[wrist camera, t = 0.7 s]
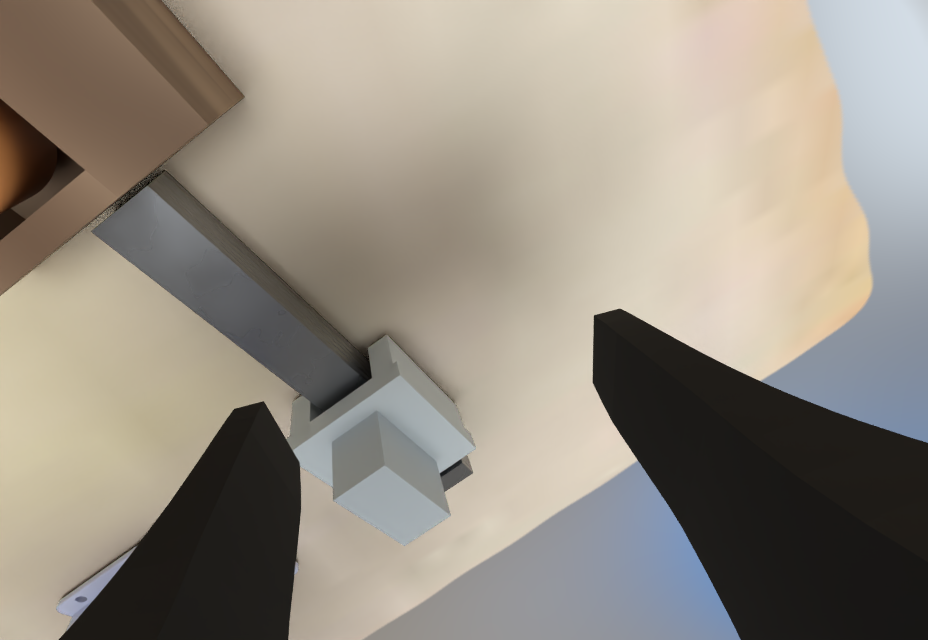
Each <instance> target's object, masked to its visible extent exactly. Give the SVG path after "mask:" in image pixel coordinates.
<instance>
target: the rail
mask: <svg viewBox="0 0 928 640" xmlns="http://www.w3.org/2000/svg"><path fill="white" fill-rule="evenodd" d="M91 232H92V233H93V234H95V235H96V236H97V237H99V238H100V239H101V240H102V241H104V242H105V243H106V244H108V245H109V246H110V247H111V248H113V249H114V250H115V251H117V252H118V253H119V254H120V255H122V256H123V257H124V258H126V259H127V260H128V261H129V262H131V263H132V264H133V265H135V266H136V267H137V268H138V269H140V270H141V271H142V272H144V273H145V274H146V275H148V276H149V277H150V278H151V279H153V280H154V281H155V282H157V283H158V284H159V285H160V286H162V287H163V288H164V289H166V290H167V291H168V292H169V293H171V294H172V295H173V296H175V297H176V298H177V299H178V300H180V301H181V302H182V303H184V304H185V305H186V306H187V307H189V308H190V309H191V310H193V311H194V312H195V313H197V314H198V315H199V316H200V317H202V318H203V319H204V320H206V321H207V322H208V323H209V324H211V325H212V326H213V327H215V328H216V329H217V330H218V331H220V332H221V333H222V334H224V335H225V336H226V337H227V338H229V339H230V340H231V341H233V342H234V343H235V344H236V345H238V346H239V347H240V348H242V349H243V350H244V351H246V352H247V353H248V354H249V355H251V356H252V357H253V358H255V359H256V360H257V361H258V362H260V363H261V364H262V365H264V366H265V367H266V368H267V369H269V370H270V371H271V372H273V373H274V374H275V375H276V376H278V377H279V378H280V379H282V380H283V381H284V382H285V383H287V384H288V385H289V386H291V387H292V388H293V389H294V390H296V391H297V392H298V393H300V394H301V395H302V396H304V397H305V398H306V399H307V400H309V401H310V402H311V403H313V404H314V405H315V406H316V407H318V408H319V409H320V410H322V411H323V412H325V411H326V410H328V409H329V408H331V407H332V406H333V405H335V404H336V403H338V402H339V401H340V400H342V399H343V398H345V397H346V396H347V395H349V394H350V393H352V392H353V391H355V390H356V389H357V388H359V387H360V386H362V385H363V384H364V383H366V382H367V381H369V380H370V379H371V378H372V373H371V367H370V362H369V361H368V360H367V359H366V358H365V357H364V356H363V355H362V354H361V353H360V352H359V351H358V350H357V349H356V348H355V347H353V346H352V345H351V344H350V343H349V342H348V341H347V340H346V339H345V338H344V337H343V336H342V335H341V334H340V333H338V332H337V331H336V330H335V329H334V328H333V327H332V326H331V325H330V324H329V323H328V322H327V321H326V320H325V319H324V318H322V317H321V316H320V315H319V314H318V313H317V312H316V311H315V310H314V309H313V308H312V307H311V306H310V305H309V304H307V303H306V302H305V301H304V300H303V299H302V298H301V297H300V296H299V295H298V294H297V293H296V292H295V291H294V290H293V289H291V288H290V287H289V286H288V285H287V284H286V283H285V282H284V281H283V280H282V279H281V278H280V277H279V276H278V275H276V274H275V273H274V272H273V271H272V270H271V269H270V268H269V267H268V266H267V265H266V264H265V263H264V262H263V261H262V260H260V259H259V258H258V257H257V256H256V255H255V254H254V253H253V252H252V251H251V250H250V249H249V248H248V247H247V246H245V245H244V244H243V243H242V242H241V241H240V240H239V239H238V238H237V237H236V236H235V235H234V234H233V233H232V232H231V231H229V230H228V229H227V228H226V227H225V226H224V225H223V224H222V223H221V222H220V221H219V220H218V219H217V218H216V217H214V216H213V215H212V214H211V213H210V212H209V211H208V210H207V209H206V208H205V207H204V206H203V205H202V204H201V203H200V202H198V201H197V200H196V199H195V198H194V197H193V196H192V195H191V194H190V193H189V192H188V191H187V190H186V189H185V188H183V187H182V186H181V185H180V184H179V183H178V182H177V181H176V180H175V179H174V178H173V177H172V176H171V175H170V174H169V173H167V172H166V171H164V172H163V173H162V174H161V175H159V176H158V177H157V178H156V179H154V180H153V181H152V182H151V183H149V184H148V185H147V186H146V187H145V188H143V189H142V190H141V191H140V192H138V193H137V194H136V195H135V196H133V197H132V198H131V199H130V200H129V201H127V202H126V203H125V204H124V205H122V206H121V207H120V208H119V209H117V210H116V211H115V212H114V213H113V214H111V215H110V216H109V217H108V218H107V219H105V220H104V221H103V222H102V223H101V224H99V225H98V226H97V227H96V228H95V229H94V230H92V231H91ZM472 473H473V470H472V468H471V465H470V462H469V459H468V456H467V455H466V456H465V457H463V458H462V459H460V460H459V461H457V462H456V463H454V464H453V465H451V466H450V467H448V468H447V469H445V470H444V471H442V472H441V473H440V477H441V481H442V485H443V488H444V492H445V491H447V490H448V489H450V488H451V487H453V486H454V485H456V484H457V483H459V482H460V481H462V480H463V479H465V478H466V477H468V476H469V475H471V474H472Z"/></svg>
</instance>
